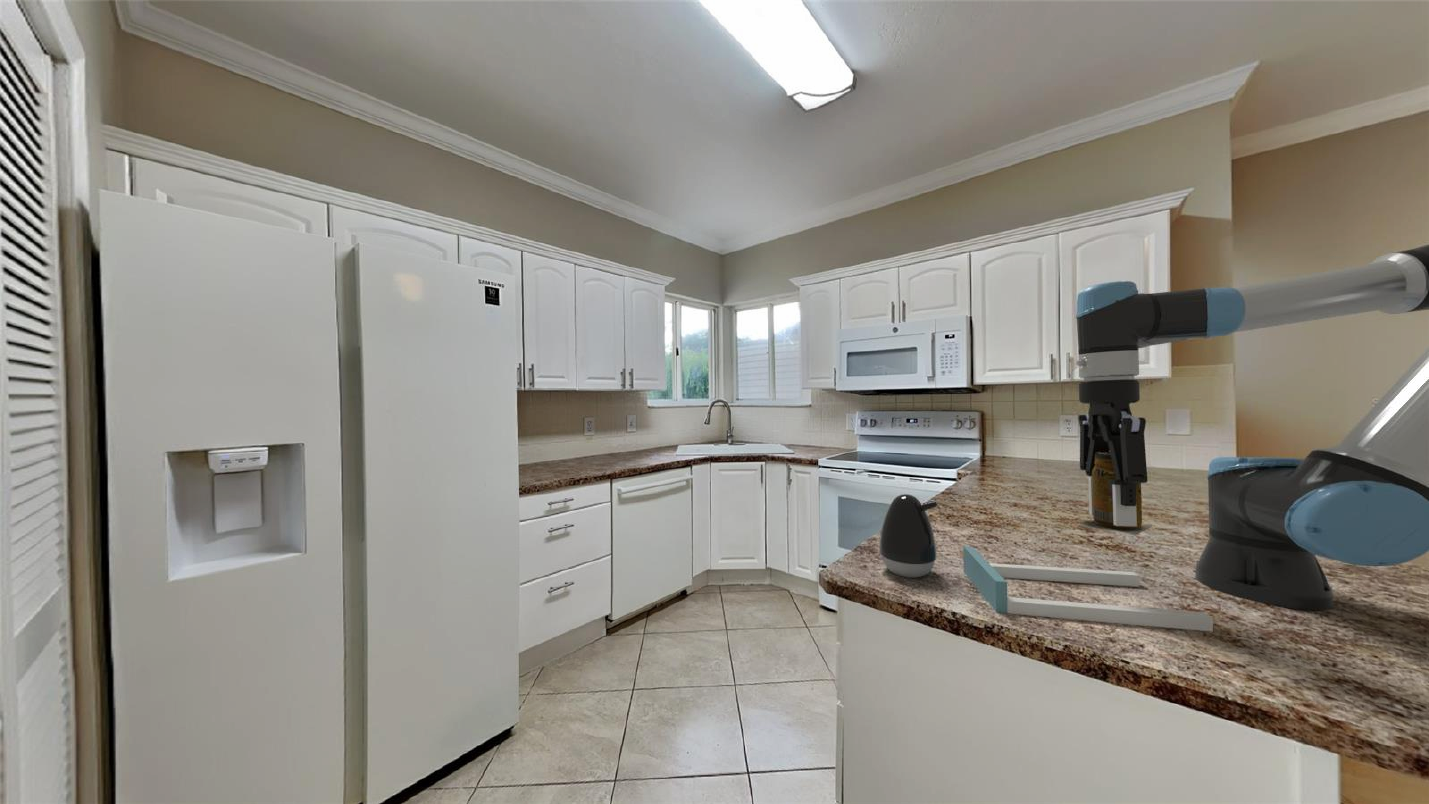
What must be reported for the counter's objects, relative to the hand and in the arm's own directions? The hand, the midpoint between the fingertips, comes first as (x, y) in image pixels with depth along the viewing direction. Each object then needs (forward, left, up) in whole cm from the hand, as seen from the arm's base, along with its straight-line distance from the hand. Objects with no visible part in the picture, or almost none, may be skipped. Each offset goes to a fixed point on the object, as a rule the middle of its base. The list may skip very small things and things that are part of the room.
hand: (1111, 519), depth 75 cm
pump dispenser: (+30, -6, -14) cm, 34 cm away
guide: (+5, 0, -13) cm, 14 cm away
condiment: (0, +1, -1) cm, 1 cm away
